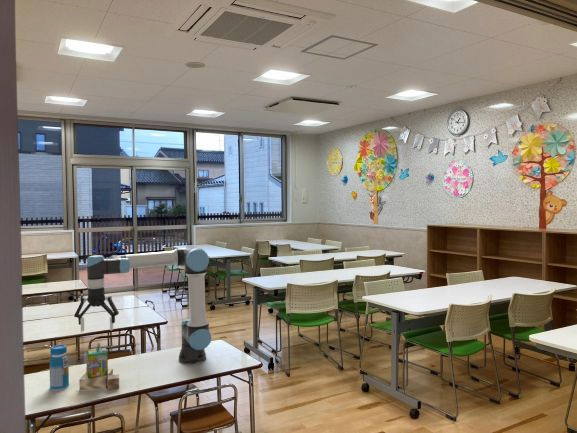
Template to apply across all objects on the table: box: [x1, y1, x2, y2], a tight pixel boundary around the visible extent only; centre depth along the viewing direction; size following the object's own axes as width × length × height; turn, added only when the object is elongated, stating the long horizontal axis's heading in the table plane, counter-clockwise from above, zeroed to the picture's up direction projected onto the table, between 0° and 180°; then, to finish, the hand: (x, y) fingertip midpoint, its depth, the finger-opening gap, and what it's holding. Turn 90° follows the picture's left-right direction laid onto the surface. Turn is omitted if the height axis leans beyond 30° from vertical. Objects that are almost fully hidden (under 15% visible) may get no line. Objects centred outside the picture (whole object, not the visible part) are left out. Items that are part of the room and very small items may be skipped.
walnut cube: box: [107, 373, 120, 391], centre depth 211 cm, size 5×5×5 cm
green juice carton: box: [85, 342, 109, 378], centre depth 215 cm, size 9×9×15 cm
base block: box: [78, 368, 114, 390], centre depth 215 cm, size 12×12×5 cm
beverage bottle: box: [48, 344, 70, 391], centre depth 212 cm, size 8×8×20 cm
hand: (97, 330), depth 215 cm, fingers open, 13 cm apart
